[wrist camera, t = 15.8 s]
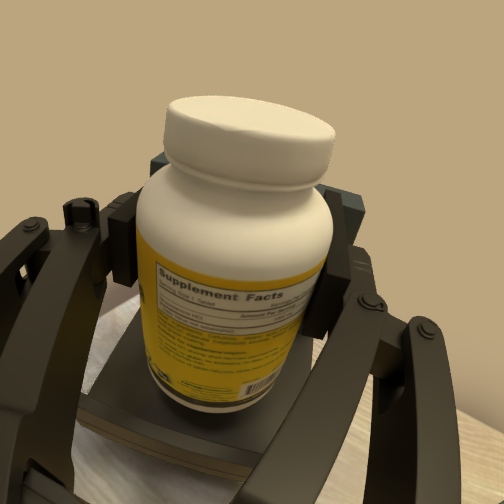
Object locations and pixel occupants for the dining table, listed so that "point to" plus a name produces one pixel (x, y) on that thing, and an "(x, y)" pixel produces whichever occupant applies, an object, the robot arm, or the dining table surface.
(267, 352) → the pill bottle
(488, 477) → the dining table surface
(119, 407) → the toy chair
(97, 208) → the robot arm
